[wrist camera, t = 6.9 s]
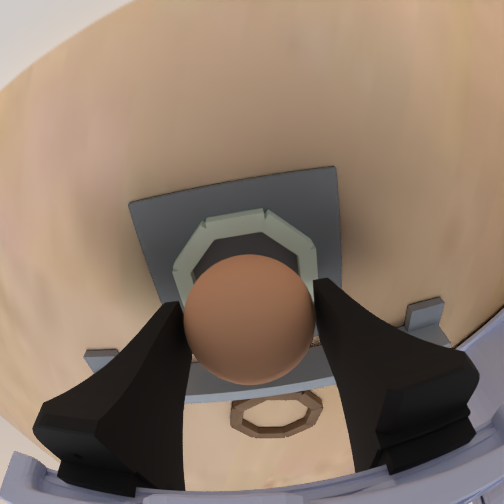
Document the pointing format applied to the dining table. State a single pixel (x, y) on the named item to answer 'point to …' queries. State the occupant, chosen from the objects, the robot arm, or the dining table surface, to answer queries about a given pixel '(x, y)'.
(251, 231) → the pad
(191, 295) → the ball
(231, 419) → the ring
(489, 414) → the robot arm
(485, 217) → the dining table surface
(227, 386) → the grey long bar
